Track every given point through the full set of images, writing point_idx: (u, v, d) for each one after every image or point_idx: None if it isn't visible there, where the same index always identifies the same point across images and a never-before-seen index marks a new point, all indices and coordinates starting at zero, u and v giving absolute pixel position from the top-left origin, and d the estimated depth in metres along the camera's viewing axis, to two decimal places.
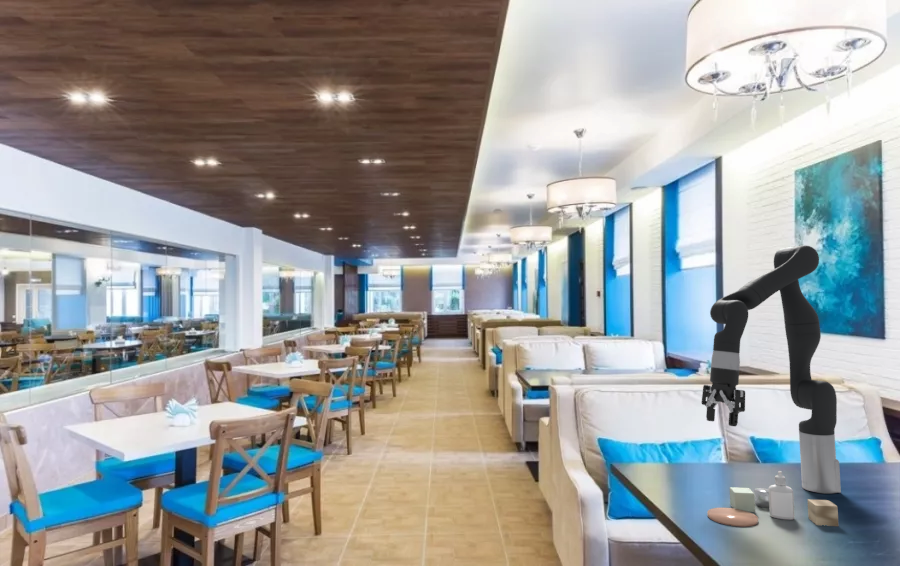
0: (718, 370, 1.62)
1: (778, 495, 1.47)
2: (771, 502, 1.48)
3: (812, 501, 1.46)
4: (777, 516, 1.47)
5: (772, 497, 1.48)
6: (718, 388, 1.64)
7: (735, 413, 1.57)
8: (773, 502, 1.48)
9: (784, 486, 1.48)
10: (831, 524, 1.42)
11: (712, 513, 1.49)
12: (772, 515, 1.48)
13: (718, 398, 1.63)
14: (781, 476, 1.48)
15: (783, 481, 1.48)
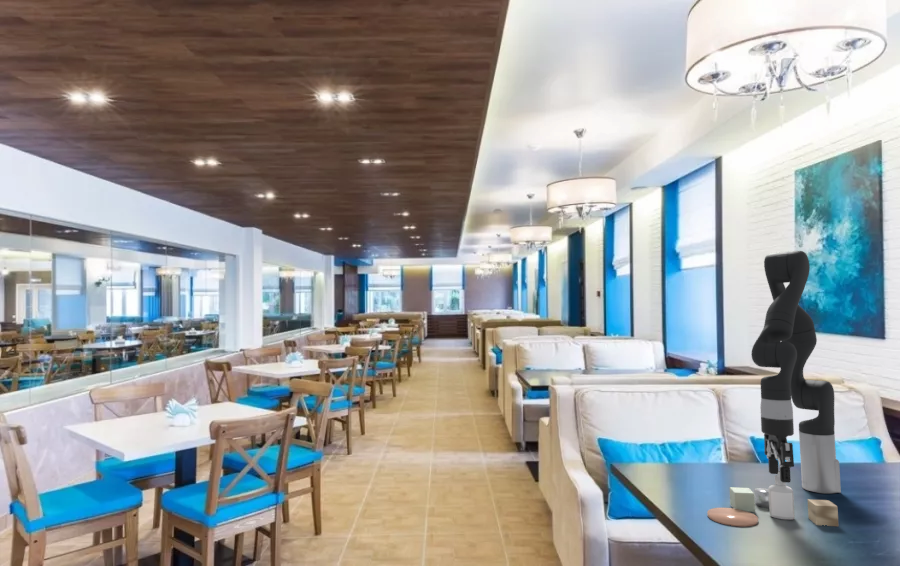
0: (764, 420, 1.49)
1: (778, 495, 1.47)
2: (771, 502, 1.48)
3: (812, 501, 1.46)
4: (777, 516, 1.47)
5: (772, 497, 1.48)
6: (772, 439, 1.50)
7: (785, 468, 1.44)
8: (773, 502, 1.48)
9: (784, 486, 1.48)
10: (831, 524, 1.42)
11: (712, 513, 1.49)
12: (772, 515, 1.48)
13: (773, 450, 1.50)
14: None
15: None
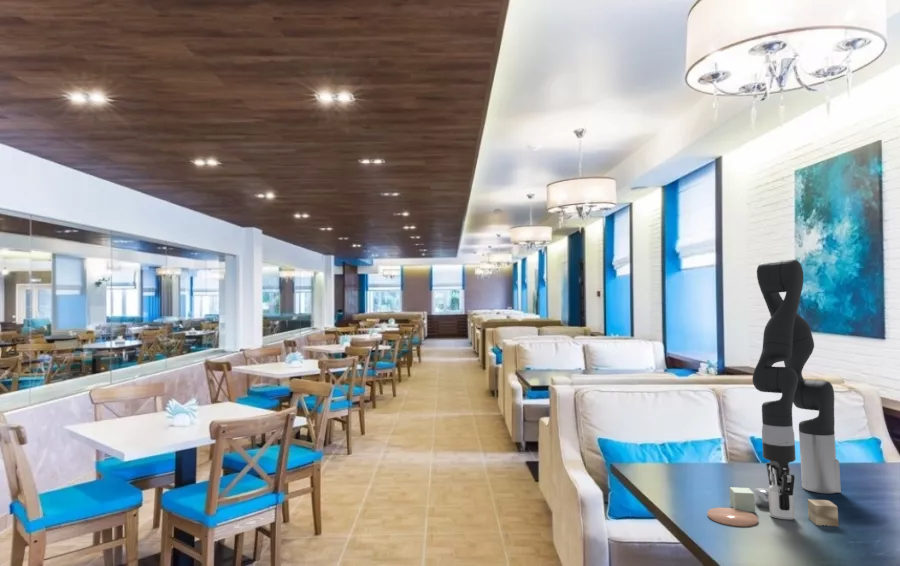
0: (765, 446, 1.49)
1: (778, 495, 1.47)
2: (771, 502, 1.48)
3: (812, 501, 1.46)
4: (777, 516, 1.47)
5: (772, 496, 1.48)
6: (773, 464, 1.50)
7: (784, 496, 1.45)
8: (773, 502, 1.48)
9: None
10: (831, 524, 1.42)
11: (712, 513, 1.49)
12: (772, 515, 1.48)
13: None
14: None
15: None
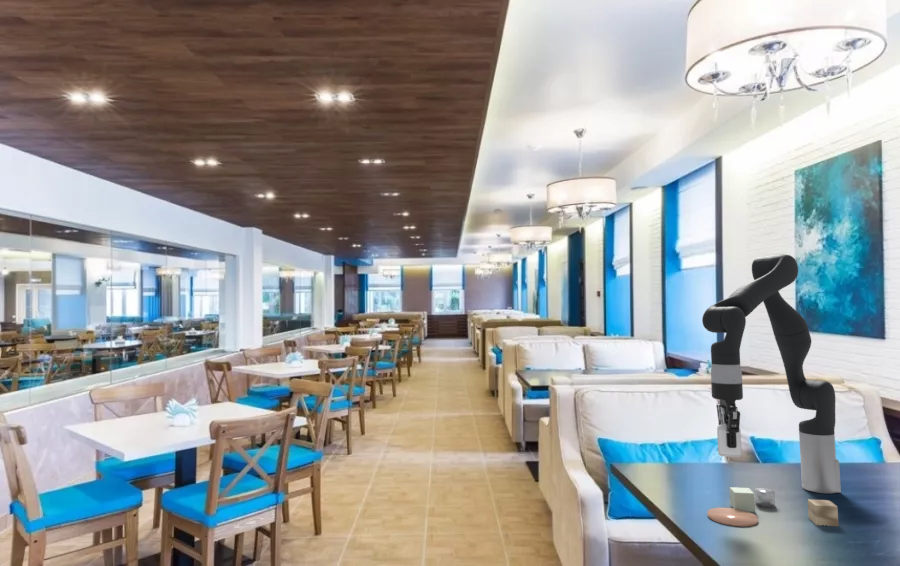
0: (714, 385, 1.50)
1: None
2: (719, 441, 1.49)
3: (812, 501, 1.46)
4: (725, 454, 1.48)
5: (720, 435, 1.49)
6: (722, 404, 1.51)
7: (731, 434, 1.46)
8: (721, 440, 1.49)
9: None
10: (831, 524, 1.42)
11: (712, 513, 1.49)
12: (720, 453, 1.49)
13: None
14: None
15: None
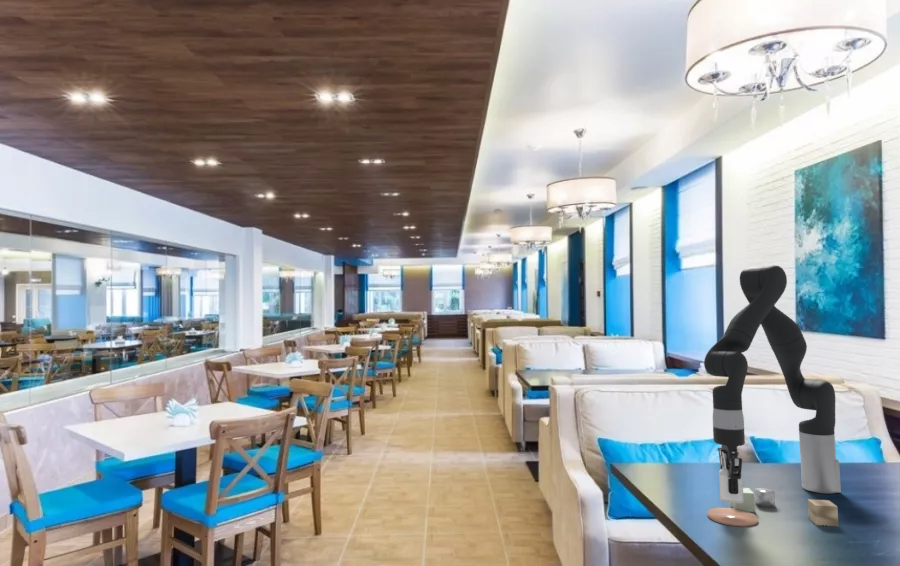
0: (715, 430, 1.49)
1: (727, 479, 1.47)
2: (721, 486, 1.48)
3: (812, 501, 1.46)
4: (726, 500, 1.47)
5: (721, 480, 1.48)
6: (724, 448, 1.50)
7: (732, 480, 1.45)
8: (723, 486, 1.48)
9: None
10: (831, 524, 1.42)
11: (712, 513, 1.49)
12: (721, 499, 1.48)
13: None
14: None
15: None
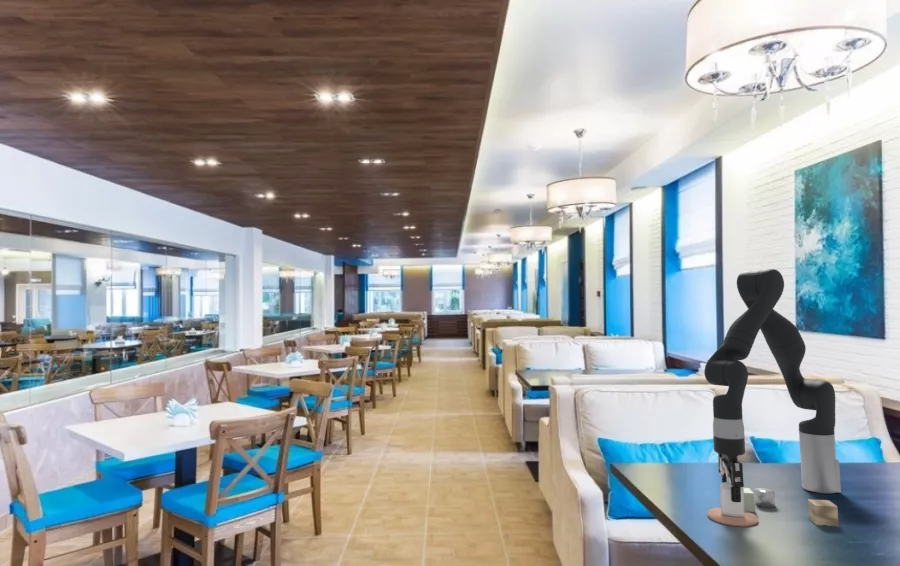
0: (716, 439, 1.49)
1: (729, 492, 1.47)
2: (722, 499, 1.48)
3: (812, 501, 1.46)
4: (727, 513, 1.47)
5: (723, 494, 1.48)
6: (724, 457, 1.50)
7: (735, 488, 1.43)
8: (724, 499, 1.48)
9: None
10: (831, 524, 1.42)
11: (712, 513, 1.49)
12: (723, 512, 1.48)
13: (725, 468, 1.49)
14: None
15: None
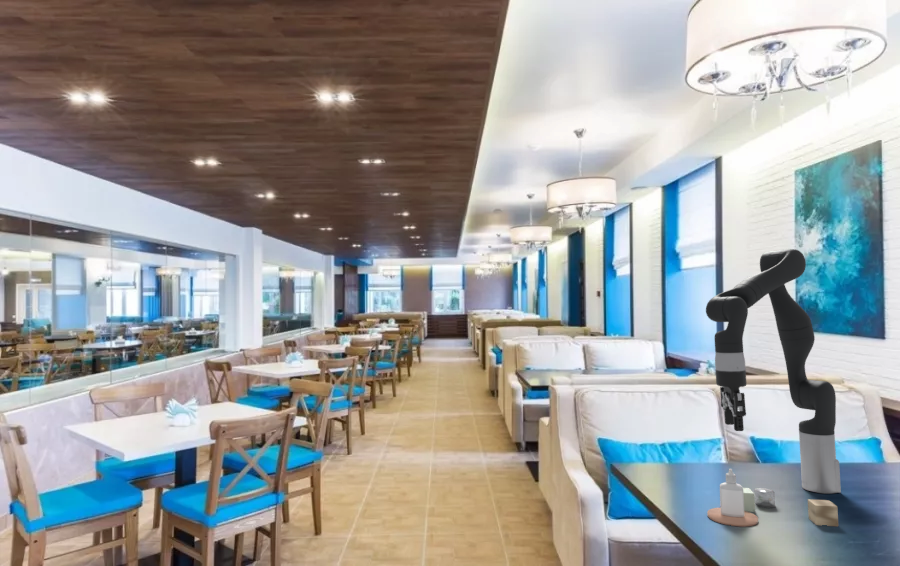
0: (718, 373, 1.54)
1: (728, 492, 1.47)
2: (722, 500, 1.48)
3: (812, 501, 1.46)
4: (727, 514, 1.47)
5: (722, 494, 1.48)
6: (726, 391, 1.56)
7: (738, 417, 1.49)
8: (724, 500, 1.48)
9: (734, 484, 1.47)
10: (831, 524, 1.42)
11: (712, 513, 1.49)
12: (723, 513, 1.48)
13: (727, 401, 1.55)
14: (731, 474, 1.48)
15: (733, 479, 1.47)
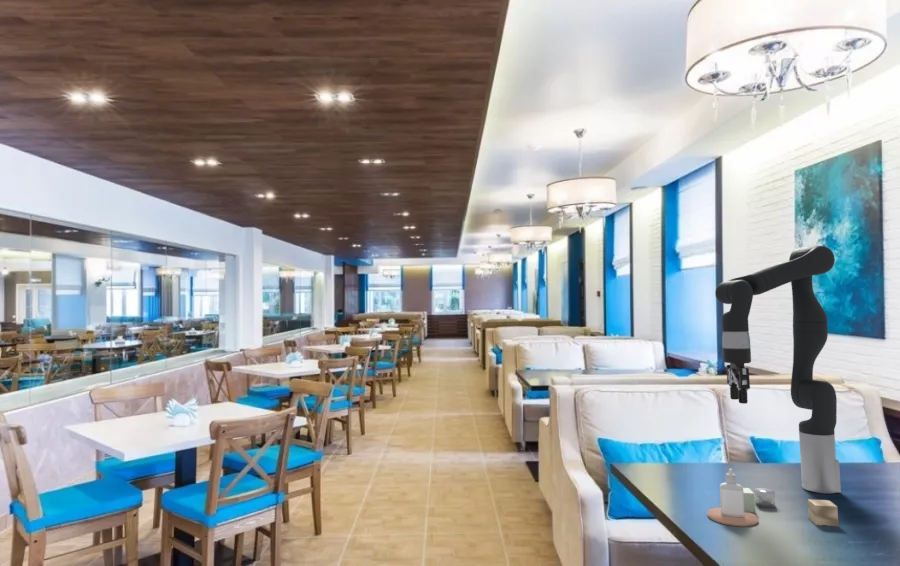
0: (725, 350, 1.67)
1: (728, 492, 1.47)
2: (722, 500, 1.48)
3: (812, 501, 1.46)
4: (727, 514, 1.47)
5: (722, 494, 1.48)
6: (732, 367, 1.68)
7: (742, 391, 1.62)
8: (724, 500, 1.48)
9: (734, 484, 1.47)
10: (831, 524, 1.42)
11: (712, 513, 1.49)
12: (723, 513, 1.48)
13: (733, 377, 1.68)
14: (731, 474, 1.48)
15: (733, 479, 1.47)
